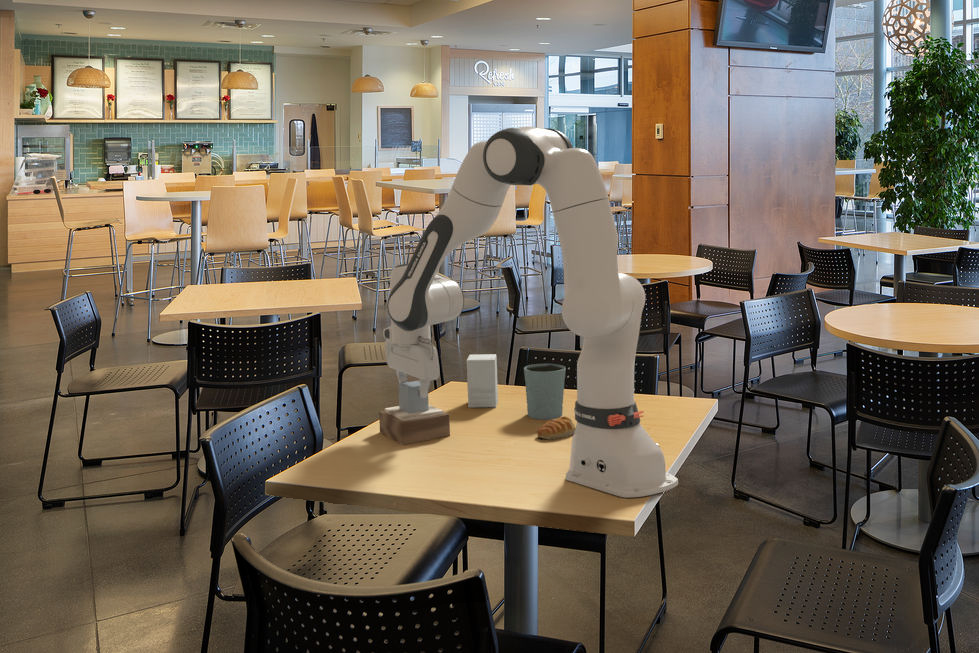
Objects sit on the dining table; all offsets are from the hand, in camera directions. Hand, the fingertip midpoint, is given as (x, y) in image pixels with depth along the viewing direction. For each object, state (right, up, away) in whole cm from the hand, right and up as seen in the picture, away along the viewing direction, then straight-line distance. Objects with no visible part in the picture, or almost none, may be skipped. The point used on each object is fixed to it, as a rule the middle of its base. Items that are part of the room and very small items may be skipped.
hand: (413, 393), depth 204 cm
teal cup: (+31, -7, +16) cm, 36 cm away
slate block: (0, -4, +1) cm, 4 cm away
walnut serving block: (0, -10, +2) cm, 10 cm away
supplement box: (+16, -5, +27) cm, 32 cm away
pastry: (+33, -10, -1) cm, 34 cm away
